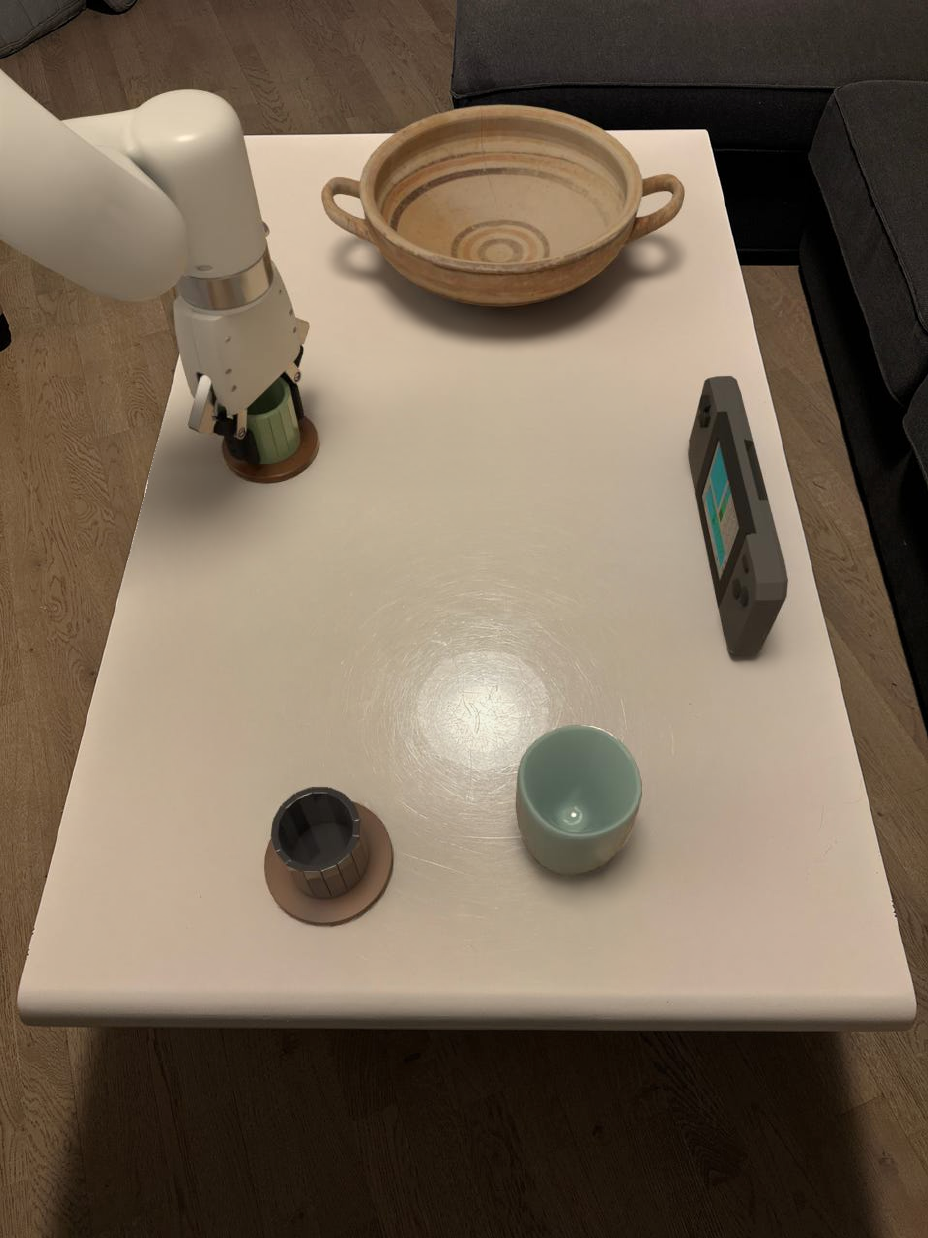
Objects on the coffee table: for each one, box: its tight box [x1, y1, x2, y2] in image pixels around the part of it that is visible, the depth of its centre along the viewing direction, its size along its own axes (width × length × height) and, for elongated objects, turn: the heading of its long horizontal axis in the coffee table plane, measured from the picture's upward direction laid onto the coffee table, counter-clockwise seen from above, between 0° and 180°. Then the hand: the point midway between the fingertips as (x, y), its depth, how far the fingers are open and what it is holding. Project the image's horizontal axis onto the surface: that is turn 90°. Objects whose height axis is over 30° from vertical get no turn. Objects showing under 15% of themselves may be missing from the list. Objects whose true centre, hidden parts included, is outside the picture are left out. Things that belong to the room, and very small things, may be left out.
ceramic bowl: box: [320, 104, 686, 307], centre depth 99 cm, size 37×29×10 cm
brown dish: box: [221, 414, 320, 484], centre depth 88 cm, size 9×9×1 cm
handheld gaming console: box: [688, 375, 789, 655], centre depth 77 cm, size 23×3×10 cm, turn 1°
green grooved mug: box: [227, 377, 301, 464], centre depth 86 cm, size 6×7×6 cm
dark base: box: [263, 800, 394, 927], centre depth 66 cm, size 9×9×1 cm
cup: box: [515, 724, 643, 876], centre depth 63 cm, size 8×8×10 cm
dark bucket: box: [270, 786, 369, 899], centre depth 64 cm, size 6×7×6 cm
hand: (267, 434), depth 87 cm, fingers closed on green grooved mug, 5 cm apart
